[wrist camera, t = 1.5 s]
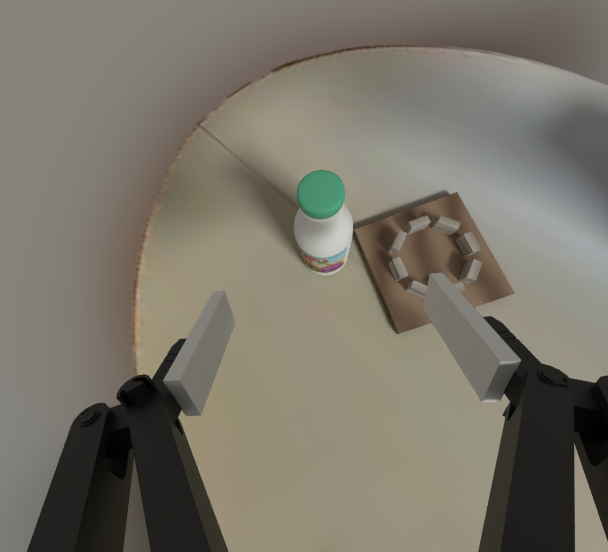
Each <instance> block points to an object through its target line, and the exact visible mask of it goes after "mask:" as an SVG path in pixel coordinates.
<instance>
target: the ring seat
mask: <svg viewBox="0 0 608 552" xmlns="http://www.w3.org/2000/svg"><path fill="white" fill-rule="evenodd" d="M354 235H355V237H356V240H357V242H358V244H359V247H360V249H361V251H362V254H363V256H364V258H365V261H366V263H367V265H368V268H369V270H370V272H371V275H372V277H373V279H374V282H375V284H376V287H377V289H378V291H379V294H380V296H381V298H382V301H383V303H384V305H385V308H386V310H387V312H388V315H389V317H390V319H391V322H392V324H393V326H394V329H395V331H396V333H397V334H400V333H403V332H405V331H408V330H411V329H414V328H417V327H420V326H423V325H425V324H428V323H431V322H432V321H431V319H430V318H429V316H428V315H427V313H426V311H425V310H424V302H425V297H426V291H427V286H428V280H429V275H430V273H443V274H444V275H445V276H446V277H447V278H448V279H449V280H450V281H451V283H452V284H453V285H454V286H455V287H456V288H457V289H458V290H459V291H460V293H461V294H462V295H463V296H464V297H465V298H466V299H467V300H468V301H469V303H470V304H471V305H472V306H473V307H477V306H480V305H483V304H485V303H488V302H491V301H494V300H497V299H500V298H503V297H505V296H508V295H511V294H514V291H513V290H512V288H511V286H510V284H509V283H508V281H507V279H506V277H505V276H504V274H503V272H502V270H501V269H500V267H499V265H498V263H497V262H496V260H495V258H494V256H493V254H492V253H491V251H490V249H489V247H488V246H487V244H486V242H485V240H484V239H483V237H482V235H481V233H480V232H479V230H478V228H477V226H476V225H475V223H474V221H473V219H472V218H471V216H470V214H469V212H468V211H467V209H466V207H465V205H464V204H463V202H462V200H461V198H460V196H459V195H458V193H457V192H456V193H453V194H451V195H448V196H445V197H442V198H440V199H437V200H434V201H431V202H429V203H426V204H423V205H420V206H418V207H415V208H412V209H409V210H407V211H404V212H401V213H398V214H395V215H393V216H390V217H387V218H384V219H382V220H379V221H376V222H373V223H371V224H368V225H365V226H362V227H360V228H357V229H354Z"/></svg>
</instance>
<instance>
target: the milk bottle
mask: <svg viewBox="0 0 608 552" xmlns="http://www.w3.org/2000/svg"><path fill="white" fill-rule="evenodd" d="M297 199H298V203H299V207H300V208H299V210H298V212H297V214H296V217H295V221H294V234H295V238H296V242H297V245H298V248H299V251H300V253H301V256H302V259H303V261H304V263H305V265H306V267H307V268H308V269H309V270H310V271H311V272H313V273H315V274H317V275H321V276H328V275H333V274H335V273H337V272H338V271H340V270H341V269H342V268H343V267H344V265H345V263H346V261H347V258H348V254H349V250H350V245H351V240H352V234H353V221H352V217H351V214H350V212H349V210H348V208H347V207H346V206H345V204H344V199H345V188H344V184H343V182H342V180H341V179H340V178H339V177H338V176H337V175H336V174H334V173H332V172H330V171H325V170H319V171H314V172H311V173H309V174H308V175H306V176H305V177H304V178H303V179H302V180H301V182H300V183H299V186H298V189H297Z"/></svg>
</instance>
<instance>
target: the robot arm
mask: <svg viewBox="0 0 608 552" xmlns="http://www.w3.org/2000/svg"><path fill="white" fill-rule="evenodd" d="M424 310H425V311H426V313H427V315H428V316H429V318H430V319H431V321H432V323H433V324H434V326H435V328H436V329H437V331H438V332H439V334H440V336H441V337H442V339H443V340H444V342H445V344H446V345H447V347H448V348H449V350H450V352H451V353H452V355H453V357H454V358H455V360H456V361H457V363H458V365H459V366H460V368H461V369H462V371H463V373H464V374H465V376H466V377H467V379H468V381H469V382H470V384H471V386H472V387H473V389H474V390H475V392H476V394H477V395H478V397H479V398H480V400H481V402H498V401H500V400H501V398H502V396H503V394H505V395H506V396H507V398H508V399H509V401H510V403H509V404H508V406H507V408H506V410H505V412H504V413H503V416H505V422H504V427H503V432H502V437H501V442H500V447H499V452H498V457H497V462H496V467H495V472H494V477H493V482H492V486H491V491H490V496H489V501H488V506H487V511H486V516H485V521H484V526H483V531H482V536H481V541H480V546H479V551H478V552H575V501H574V443H575V446H576V449H577V452H578V455H579V458H580V461H581V464H582V467H583V470H584V473H585V476H586V479H587V481H588V484H589V487H590V490H591V493H592V496H593V499H594V502H595V505H596V508H597V511H598V514H599V517H600V520H601V523H602V526H603V529H604V531H605V534H606V537H607V540H608V376H602V377H600V378H599V379H598V381H597V382H596V383H593V382H587V381H582V380H577V379H572V378H569V377H568V376H567V375H566V374H564V373H563V372H561V371H560V370H558V369H556V368H554V367H552V366H549V365H545V364H542V363H540V361H539V360H538V359H537V358H536V357H535V356H534V355H533V354H532V353H531V352H530V351H529V350H528V349H527V348H526V347H525V346H524V345H523V344H522V343H521V342H520V341H519V340H518V339H516V337H515V336H514V335H513V334H512V333H511V332H510V331H509V330H508V328H507V327H506V326H505V325H504V324H503V323H501V322H500V321H498V320H496V319H495V318H493V317H491V316H489V317H482V316H481V315H480V314H479V313H478V312H477V310H476V309H475V308H474V307H473V306H472V305H471V304H470V303H469V301H468V300H467V299H466V298H465V297H464V296H463V295H462V294H461V293H460V291H459V290H458V289H457V288H456V287H455V286H454V285H453V284H452V283H451V281H450V280H449V279H448V278H447V277H446V276H445V275H444V274H443V273H430V275H429V280H428V286H427V291H426V297H425V302H424ZM234 325H235V320H234V317H233V314H232V311H231V308H230V305H229V302H228V299H227V296H226V294H225V291H218V292H213V293H212V295H211V297H210V299H209V301H208V302H207V304H206V306H205V308H204V309H203V311H202V313H201V315H200V316H199V318H198V320H197V322H196V323H195V325H194V327H193V329H192V331H191V332H190V334H189V336H188V338H187V339H179V340H178V341H177V342H176V343H175V344H174V345H173V346H172V347H171V349H170V351H169V352H168V354H167V356H166V357H165V359H164V360H163V362H162V364H161V365H160V367H159V369H158V370H157V372H156V373H155V375H154V377H153V378H152V380H151V378H150V377H149V376H148V375H138V376H136V377H133V378H131V379H130V380H128V381H127V382H126V383H125V384H124V385H123V386H122V387H121V388H120V389H119V391H118V393H117V399H118V400H119V401H120V403H121V404H120V405H117V406H115V407H112V408H109V407H108V406H107V405H106V404H105V403H97V404H94V405H92V406H90V407H88V408H86V409H85V410H84V411H83V412H81V413H80V414H79V415H78V416H77V417H76V419H75V420H74V422H73V423H72V425H71V428H70V431H69V434H68V437H67V440H66V442H65V445H64V448H63V451H62V454H61V456H60V459H59V462H58V465H57V468H56V471H55V473H54V477H53V479H52V482H51V485H50V488H49V490H48V493H47V496H46V499H45V502H44V505H43V507H42V510H41V513H40V516H39V519H38V522H37V525H36V528H35V531H34V533H33V536H32V539H31V542H30V544H29V547H28V550H27V552H123V546H124V537H125V529H126V520H127V512H128V504H129V495H130V487H131V478H132V470H133V461H134V457H135V463H136V468H137V474H138V480H139V486H140V491H141V497H142V503H143V509H144V514H145V520H146V525H147V532H148V537H149V542H150V549H151V552H228V549H227V546H226V544H225V541H224V538H223V536H222V533H221V530H220V527H219V525H218V522H217V519H216V517H215V514H214V511H213V508H212V506H211V503H210V500H209V498H208V495H207V492H206V489H205V487H204V484H203V481H202V479H201V476H200V473H199V470H198V468H197V465H196V462H195V460H194V457H193V454H192V451H191V449H190V446H189V443H188V441H187V438H186V435H185V432H184V430H183V427H182V424H181V422H180V420H179V418H178V416H179V414H180V412H181V410H182V411H183V412H184V414H185V415H186V416H198V415H201V414H202V411H203V408H204V406H205V403H206V400H207V398H208V395H209V392H210V389H211V387H212V384H213V381H214V379H215V376H216V373H217V371H218V368H219V365H220V362H221V360H222V357H223V354H224V352H225V349H226V346H227V344H228V341H229V338H230V335H231V333H232V330H233V327H234Z"/></svg>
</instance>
